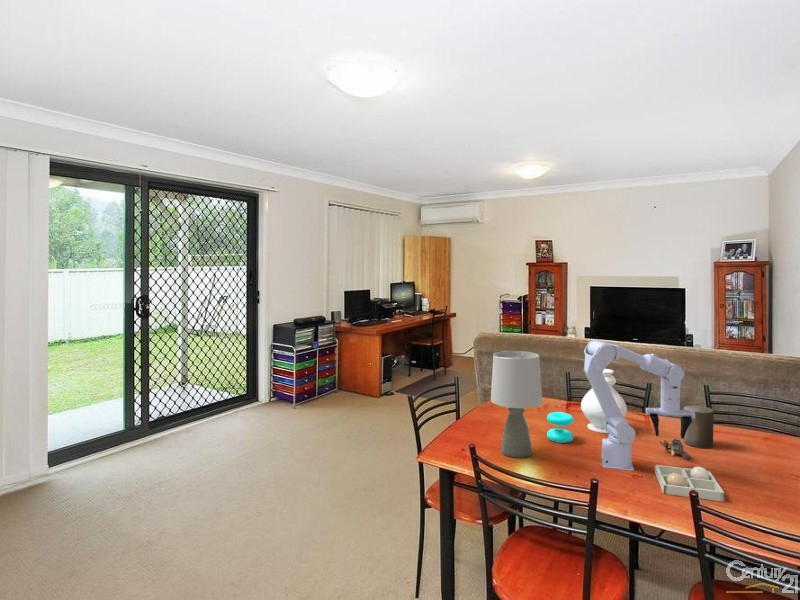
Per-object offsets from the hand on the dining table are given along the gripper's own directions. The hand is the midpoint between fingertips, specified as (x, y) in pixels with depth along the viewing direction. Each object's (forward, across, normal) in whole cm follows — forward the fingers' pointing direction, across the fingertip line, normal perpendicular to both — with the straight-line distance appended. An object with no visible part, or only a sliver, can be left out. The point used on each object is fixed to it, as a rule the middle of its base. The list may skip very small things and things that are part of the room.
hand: (669, 436), depth 158 cm
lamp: (+10, +51, +5) cm, 52 cm away
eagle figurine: (+10, -4, -10) cm, 15 cm away
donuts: (+10, +36, -14) cm, 40 cm away
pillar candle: (+10, -14, -25) cm, 30 cm away
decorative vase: (+10, +19, -33) cm, 39 cm away
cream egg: (+10, -6, +13) cm, 17 cm away
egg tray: (+10, -2, +17) cm, 20 cm away
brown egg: (+10, +2, +21) cm, 23 cm away
